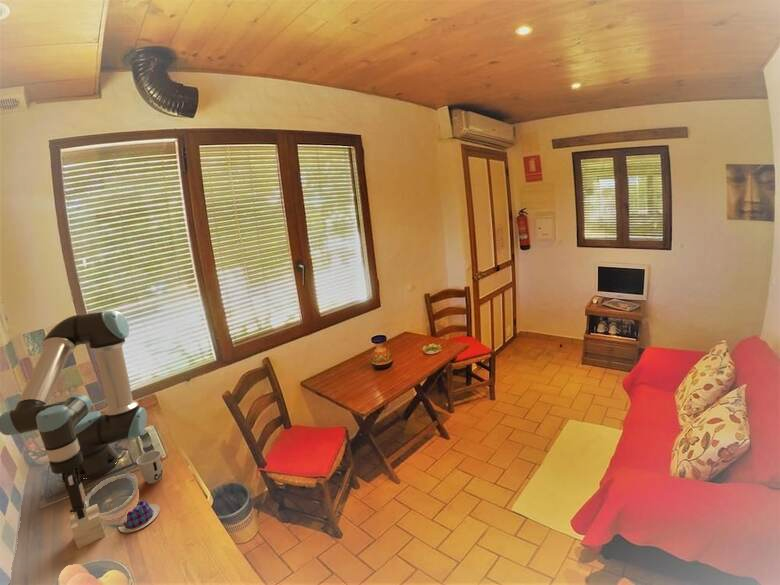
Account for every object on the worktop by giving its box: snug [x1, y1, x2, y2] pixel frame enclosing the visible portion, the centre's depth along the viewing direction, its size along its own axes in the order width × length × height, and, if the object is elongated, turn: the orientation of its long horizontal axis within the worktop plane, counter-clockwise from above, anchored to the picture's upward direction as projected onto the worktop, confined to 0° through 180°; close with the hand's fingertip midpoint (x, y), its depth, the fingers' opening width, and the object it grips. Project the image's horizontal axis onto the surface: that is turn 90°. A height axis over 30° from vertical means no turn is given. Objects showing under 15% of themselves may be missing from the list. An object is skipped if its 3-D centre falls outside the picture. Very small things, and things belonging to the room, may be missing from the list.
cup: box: [136, 449, 164, 484], centre depth 146 cm, size 8×8×10 cm
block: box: [69, 503, 106, 550], centre depth 122 cm, size 7×7×8 cm
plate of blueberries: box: [117, 500, 160, 533], centre depth 128 cm, size 12×12×5 cm
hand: (82, 513), depth 120 cm, fingers open, 13 cm apart
